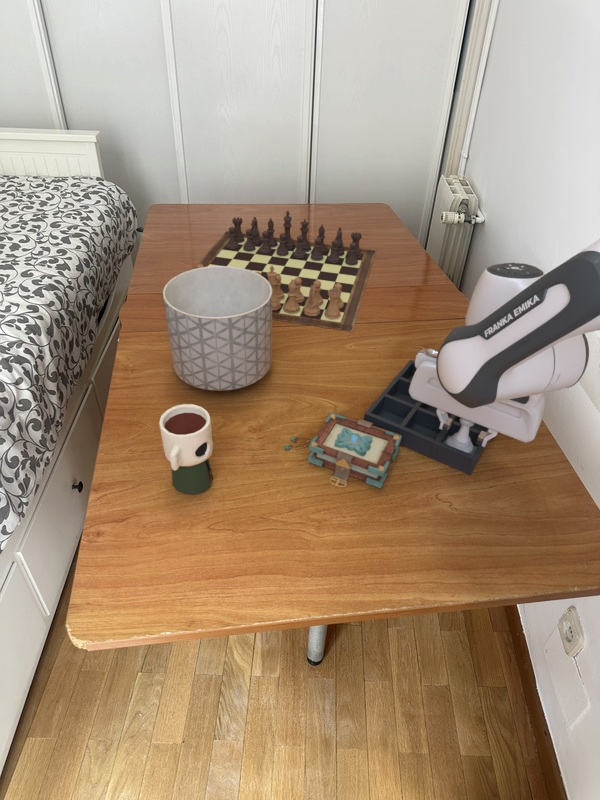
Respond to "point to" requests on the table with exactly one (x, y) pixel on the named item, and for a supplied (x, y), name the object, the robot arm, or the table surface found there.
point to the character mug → (188, 446)
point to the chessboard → (300, 272)
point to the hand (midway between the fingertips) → (462, 435)
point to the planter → (219, 326)
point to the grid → (422, 424)
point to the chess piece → (462, 437)
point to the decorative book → (353, 449)
